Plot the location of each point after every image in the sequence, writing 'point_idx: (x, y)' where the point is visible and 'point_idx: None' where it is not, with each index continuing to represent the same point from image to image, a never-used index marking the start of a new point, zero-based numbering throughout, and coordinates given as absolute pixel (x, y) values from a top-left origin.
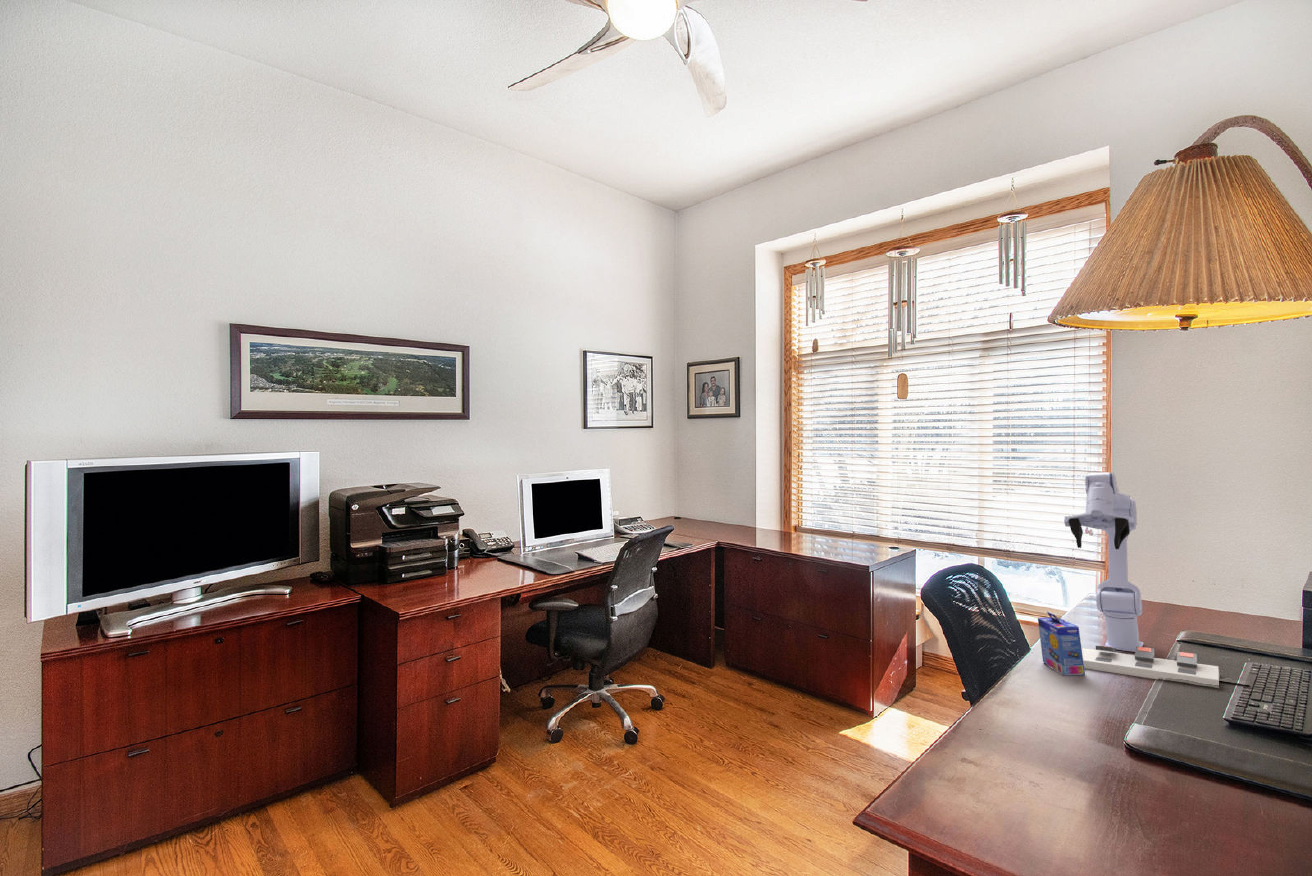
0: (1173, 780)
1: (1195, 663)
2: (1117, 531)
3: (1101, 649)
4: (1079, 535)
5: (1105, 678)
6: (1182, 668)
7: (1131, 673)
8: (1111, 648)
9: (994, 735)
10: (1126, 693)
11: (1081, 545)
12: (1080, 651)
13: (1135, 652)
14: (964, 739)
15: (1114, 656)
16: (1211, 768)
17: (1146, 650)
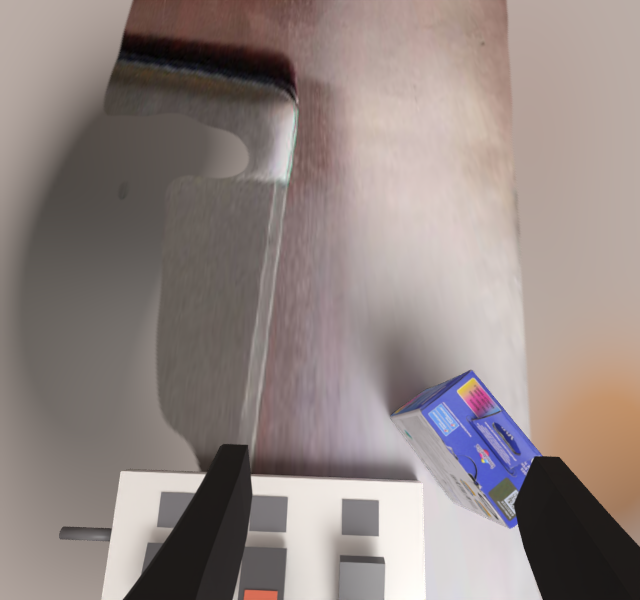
0: (242, 23)
1: (148, 548)
2: (172, 589)
3: (369, 557)
4: (585, 538)
5: (348, 417)
6: None
7: (297, 476)
8: (343, 561)
9: (458, 34)
10: (302, 331)
11: (524, 545)
12: (405, 410)
13: (284, 575)
14: (488, 3)
15: (338, 571)
16: (198, 76)
17: (255, 595)
